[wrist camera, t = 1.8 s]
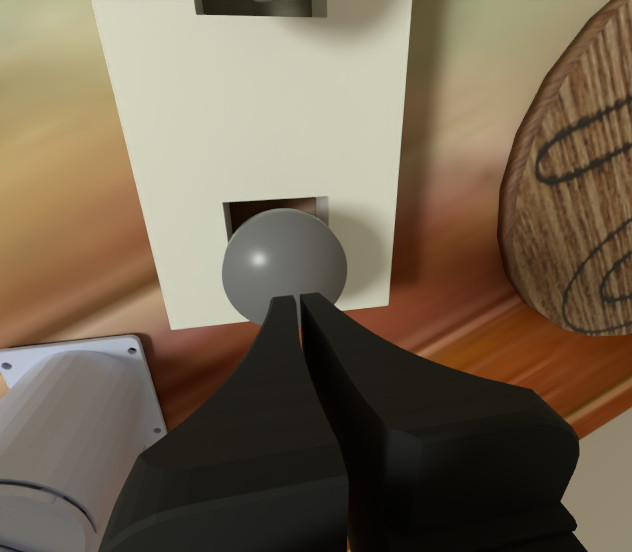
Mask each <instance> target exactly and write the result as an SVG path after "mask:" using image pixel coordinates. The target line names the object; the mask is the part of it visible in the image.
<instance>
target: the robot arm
mask: <svg viewBox="0 0 632 552" xmlns="http://www.w3.org/2000/svg"><path fill="white" fill-rule="evenodd" d="M300 314H301V334H302V349H301V345H300V339H299V330H298V317H297V304H296V301H295V298H294V296H293V295H288V296H278V297H273V298H272V299H271V300H270V305H269V309H268V312H267V315H266V318H265V320H264V322H263V324H262V326H261V329H260V331H259V333H258V335H257V336H256V338H255V340H254V342H253V343H252V345H251V347H250V348H249V350H248V352H247V353H246V355H245V356H244V358H243V359H242V360H241V362H240V363H239V364H238V366H237V367H236V368H235V370H234V371H233V372H232V373H231V375H230V376H229V377H228V378H227V379H226V380H225V382H224V383H223V384H222V385H221V386H220V387H219V388H218V390H217V391H216V392H215V393H214V394H213V395H212V396H211V397H210V398H209V399H208V400H207V401H206V402H205V403H203V404H202V405H201V406H200V407H199V408H198V409H197V410H196V411H195V412H194V413H193V414H191V415H190V416H189V417H188V418H187V419H186V420H184V421H183V422H182V423H181V424H179V425H178V426H177V427H176V428H174V429H173V430H172V431H170V432H169V433H168V432H167V429H166V426H165V422H164V419H163V415H162V412H161V409H160V405H159V402H158V398H157V395H156V392H155V388H154V385H153V381H152V378H151V374H150V371H149V368H148V364H147V361H146V357H145V354H144V351H143V347H142V344H141V340H140V339H139V337H137V336H136V335H122V336H113V337H104V338H95V339H86V340H78V341H69V342H60V343H51V344H42V345H33V346H24V347H16V348H7V349H1V350H0V372H1V374H2V376H3V378H4V379H5V381H6V383H7V385H8V387H9V389H10V390H9V391H8V392H7V393H6V394H5V395H4V397H3V398H2V399H1V400H0V552H347V535H348V540H349V545H350V550H351V552H587V550H586V549H585V548H584V546H583V545H582V544H581V543H580V541H579V540H578V539H577V538H576V536H575V535H574V534H573V533H572V531H575V530H576V528H577V524H576V521H575V519H574V518H573V516H572V515H571V514H570V513H569V512H568V510H567V509H566V508H565V507H564V505H563V504H562V503H561V502H560V501H561V499H562V497H563V495H564V492H565V490H566V488H567V486H568V484H569V481H570V479H571V477H572V475H573V472H574V470H575V468H576V464H577V461H578V458H579V438H578V436H577V434H576V433H575V431H574V430H573V428H572V427H571V426H570V425H569V424H568V423H567V422H566V421H565V420H564V419H563V418H562V417H561V416H560V415H558V414H557V413H556V412H555V411H554V410H553V409H552V408H551V407H550V406H549V405H548V404H547V403H546V402H545V401H544V400H543V399H542V398H541V397H539V396H538V395H537V394H536V393H535V392H534V391H533V390H532V389H527V388H523V387H519V386H515V385H511V384H507V383H502V382H498V381H494V380H490V379H486V378H482V377H478V376H475V375H472V374H468V373H465V372H462V371H459V370H455V369H452V368H449V367H446V366H444V365H441V364H438V363H435V362H433V361H430V360H428V359H425V358H423V357H420V356H418V355H415V354H413V353H411V352H409V351H406V350H404V349H402V348H400V347H398V346H396V345H394V344H392V343H390V342H389V341H387V340H385V339H383V338H381V337H379V336H378V335H376V334H374V333H373V332H371V331H369V330H368V329H366V328H365V327H363V326H362V325H360V324H359V323H357V322H356V321H354V320H353V319H352V318H350V317H349V316H347V315H346V314H345V313H344V312H342V311H341V310H340V309H338V308H337V307H336V306H335V305H333V304H332V303H331V302H330V301H329V300H327V299H326V298H325V297H324V296H323V295H321V294H320V293H319V292H317V293H307V294H300ZM130 348H135V349H136V351H133V350H131V349H130ZM302 350H303V352H302ZM7 363H9V364H11V365H8V364H7ZM156 428H159V429H156Z"/></svg>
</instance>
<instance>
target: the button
mask: <svg viewBox="0 0 632 552" xmlns="http://www.w3.org/2000/svg"><path fill="white" fill-rule="evenodd" d="M346 279H347V260H346V255H345V253H344V250H343V247H342V245H341V244H340V242H339V240H338V239H337V237H336V236H335V235H334V233H333V232H332V231H331V229H330V228H329V227H328V226H327V225H326V224H325V223H324V222H323V221H321V220H320V219H319V218H317V217H315V216H314V215H312V214H310V213H307V212H305V211H301V210H297V209H291V208H279V209H271V210H268V211H264V212H262V213H259V214H257V215H255V216H253V217H251V218H250V219H248V220H247V221H246V222H244V223H243V224H242V225H241V226H240V227H239V228H238V229H237V230H236V231H235V233H234V234H233V235H232V237H231V239H230V241H229V243H228V245H227V248H226V251H225V255H224V260H223V265H222V283H223V287H224V290H225V293H226V296H227V298H228V299H229V301H230V303H231V304H232V305H233V307H234V308H235V309H236V310H237V311H238V312H239V313H240V314H241V315H242V316H244V317H245V318H246V319H248V320H250V321H251V322H253V323H256V324H258V325H260V326H262V324H263V322H264V320H265V318H266V315H267V312H268V309H269V305H270V300H271V299H272V298H273V297H278V296H288V295H293V296H294V298H295V301H296V304H297V317H298V327H300V326H301V314H300V294H307V293H317V292H319V293H320V294H321V295H323V296H324V297H325V298H326V299H327V300H329V301H330V302H331V303H332V304H333V305H334V304H335V303H336V302H337V300H338V299H339V297H340V295H341V293H342V292H343V289H344V286H345V283H346Z"/></svg>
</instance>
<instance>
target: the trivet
mask: <svg viewBox="0 0 632 552" xmlns="http://www.w3.org/2000/svg"><path fill="white" fill-rule="evenodd" d="M497 239H498V243H499V248H500V252H501V257H502V261H503V265H504V270H505V274H506V276H507V277H508V279H509V280H510V282H511V284H512V285H513V287H514V288H515V290H516V292H517V293H518V295H519V296H520V298H521V299H522V301H523V302H524V303H526V304H527V305H529V306H530V307H531V308H533V309H534V310H536V311H537V312H538V313H540V314H541V315H542V316H544V317H545V318H547V319H548V320H550V321H551V322H553V323H554V324H556V325H557V326H559V327H560V328H562V329H565V330H568V331H572V332H576V333H580V334H584V335H588V336H592V337H594V336H614V335H627V334H630V333H632V0H610V1H609V2H608V3H607V4H606V5H605V6H604V7H603V8H601V9H600V10H599V11H598V12H597V13H596V14H595V15H593V16H592V17H591V18H590V19H589V20H588V21H587V23H586V24H585V25H584V27H583V28H582V29H581V31H580V32H579V33H578V34H577V36H576V37H575V38H574V40H573V41H572V42H571V44H570V45H569V46H568V47H567V49H566V50H565V51H564V53H563V54H562V55H561V56H560V58H559V59H558V60H557V62H556V63H555V64H554V66H553V67H552V68H551V69H550V71H549V72H548V73H547V75H546V76H545V78H544V80H543V82H542V84H541V86H540V88H539V90H538V92H537V94H536V96H535V98H534V99H533V101H532V103H531V105H530V107H529V109H528V111H527V113H526V115H525V117H524V119H523V121H522V123H521V125H520V127H519V129H518V131H517V133H516V135H515V138H514V142H513V145H512V148H511V152H510V155H509V159H508V162H507V166H506V169H505V173H504V176H503V180H502V183H501V186H500V193H499V210H498V228H497Z"/></svg>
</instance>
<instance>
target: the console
mask: <svg viewBox="0 0 632 552" xmlns="http://www.w3.org/2000/svg"><path fill="white" fill-rule="evenodd" d="M91 1H92V5H93V10H94V14H95V18H96V22H97V26H98V30H99V34H100V38H101V42H102V47H103V51H104V55H105V59H106V63H107V67H108V71H109V75H110V79H111V84H112V88H113V92H114V96H115V100H116V104H117V108H118V112H119V116H120V121H121V125H122V129H123V133H124V137H125V141H126V145H127V149H128V154H129V158H130V162H131V166H132V170H133V174H134V178H135V182H136V186H137V191H138V195H139V199H140V203H141V207H142V211H143V215H144V219H145V223H146V228H147V232H148V236H149V240H150V244H151V248H152V252H153V256H154V260H155V265H156V269H157V273H158V277H159V281H160V285H161V289H162V293H163V297H164V302H165V306H166V310H167V314H168V318H169V322H170V326H171V330H175V329H184V328H192V327H201V326H210V325H219V324H228V323H237V322H246V321H250V320H248V319H246V318H245V317H244V316H242V315H241V314H240V313H239V312H238V311H237V310H236V309H235V308H234V307H233V305H232V304H231V303H230V301H229V299H228V298H227V296H226V293H225V290H224V287H223V283H222V265H223V260H224V255H225V251H226V248H227V245H228V243H229V241H230V239H231V237H232V235H233V231H232V223H231V216H230V208H229V202H238V201H255V200H271V199H288V198H305V197H316V217H317V218H319V219H320V220H321V221H323V222H324V223H325V224H326V225H327V226H328V227H329V228H330V229H331V231H332V232H333V233H334V235H335V236H336V237H337V239H338V240H339V242H340V244H341V245H342V247H343V250H344V253H345V255H346V260H347V279H346V283H345V286H344V289H343V292H342V293H341V295H340V297H339V299H338V300H337V302H336V303H335V304H334V305H335V306H336V307H337V308H338V309H340V310H341V311H343V310H352V309H361V308H370V307H378V306H387V305H388V302H389V290H390V277H391V264H392V251H393V238H394V226H395V213H396V200H397V187H398V174H399V162H400V149H401V136H402V123H403V111H404V98H405V85H406V72H407V59H408V47H409V34H410V21H411V8H412V0H312V17H272V16H227V15H204V11H203V4H202V0H91Z"/></svg>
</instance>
